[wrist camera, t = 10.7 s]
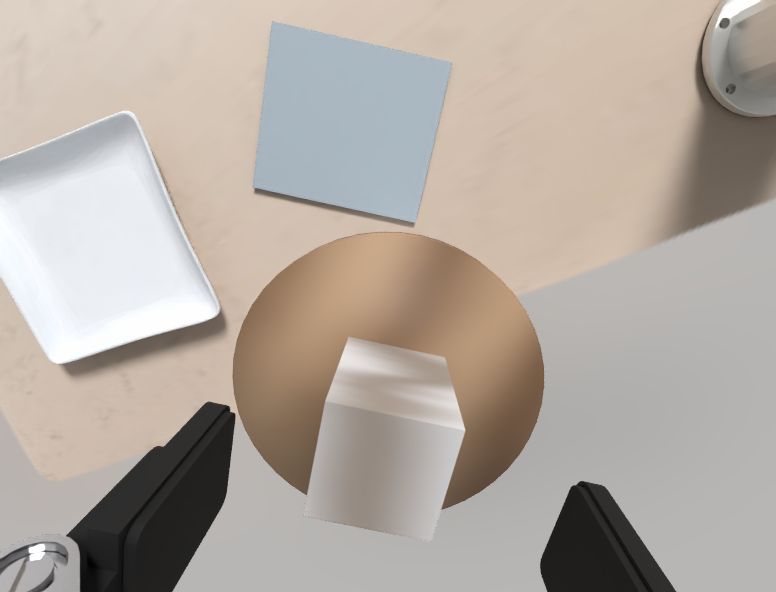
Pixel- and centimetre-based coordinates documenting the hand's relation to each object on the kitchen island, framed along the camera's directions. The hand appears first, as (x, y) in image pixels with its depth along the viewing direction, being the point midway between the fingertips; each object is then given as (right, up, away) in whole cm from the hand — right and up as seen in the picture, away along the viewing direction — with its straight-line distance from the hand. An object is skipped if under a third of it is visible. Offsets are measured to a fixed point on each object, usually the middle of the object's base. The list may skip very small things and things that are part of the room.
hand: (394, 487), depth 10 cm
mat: (-4, +22, +27) cm, 35 cm away
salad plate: (-31, +11, +32) cm, 45 cm away
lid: (0, +1, +7) cm, 7 cm away
